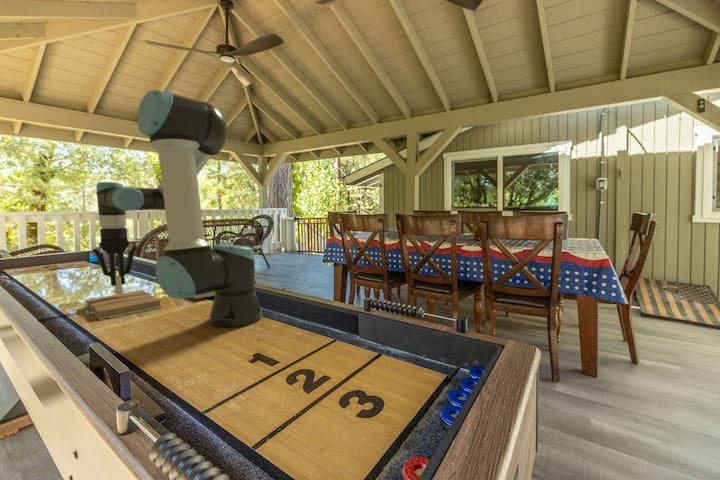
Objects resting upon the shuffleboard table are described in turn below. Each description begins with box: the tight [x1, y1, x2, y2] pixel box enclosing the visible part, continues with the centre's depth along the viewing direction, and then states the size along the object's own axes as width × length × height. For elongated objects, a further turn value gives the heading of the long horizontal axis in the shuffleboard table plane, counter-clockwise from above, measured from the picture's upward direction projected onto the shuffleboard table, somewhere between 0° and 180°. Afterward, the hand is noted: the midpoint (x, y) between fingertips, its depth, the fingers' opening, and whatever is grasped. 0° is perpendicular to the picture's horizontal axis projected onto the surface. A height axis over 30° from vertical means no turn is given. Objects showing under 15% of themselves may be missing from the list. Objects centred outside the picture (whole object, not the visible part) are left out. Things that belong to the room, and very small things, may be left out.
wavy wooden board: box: [85, 289, 153, 312], centre depth 119 cm, size 11×17×2 cm, turn 138°
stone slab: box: [187, 291, 215, 302], centre depth 136 cm, size 10×3×30 cm
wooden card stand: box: [85, 295, 162, 321], centre depth 116 cm, size 21×17×3 cm
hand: (118, 294), depth 120 cm, fingers closed
